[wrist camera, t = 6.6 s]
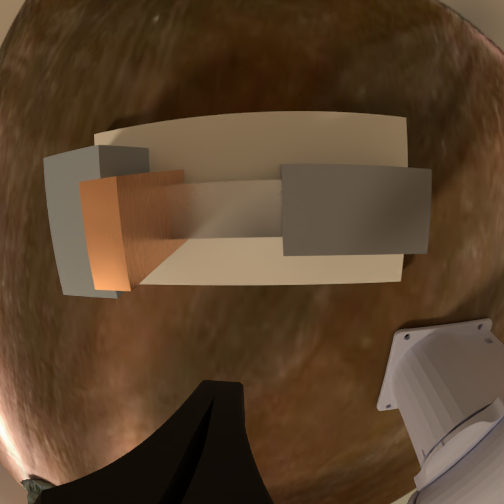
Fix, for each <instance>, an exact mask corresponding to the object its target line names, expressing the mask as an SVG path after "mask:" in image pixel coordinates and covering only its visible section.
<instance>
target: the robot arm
mask: <svg viewBox="0 0 504 504" xmlns="http://www.w3.org/2000/svg"><path fill="white" fill-rule="evenodd" d="M478 326H479V327H478ZM491 327H492V320H491V319H490V318H486V319H480V320H473V321H467V322H460V323H452V324H445V325H437V326H428V327H419V328H410V329H400V330H398V331H396V333H395V334H394V337H393V342H392V347H391V351H390V356H389V360H388V364H387V369H386V373H385V377H384V381H383V385H382V388H381V392H380V396H379V399H378V403H377V409H378V410H379V411H384V410H391V409H397V408H399V410H400V413H401V415H402V418H403V420H404V423H405V426H406V428H407V431H408V433H409V436H410V439H411V441H412V444H413V447H414V449H415V452H416V455H417V458H418V461H419V463H420V466H421V469H422V470H421V471H420V472H419V473H418V474H417V475H416V476H415V477H414V481H415V484H416V487H417V491H416V492H414V493H413V495H412V496H411V497H410V499H409V500H408V503H407V504H504V344H503V343H502V342H501V341H500V340H499V339H498V338H497V337H496V336H495V335H494V334H493V333H492V332H491V331H490V330H491ZM407 334H409V335H408V336H407V337H405V335H407ZM388 404H389V405H388ZM33 504H274V503H273V501H272V499H271V497H270V495H269V493H268V491H267V489H266V487H265V485H264V483H263V481H262V478H261V476H260V474H259V471H258V469H257V466H256V463H255V461H254V458H253V455H252V452H251V449H250V445H249V442H248V438H247V434H246V430H245V410H244V392H243V385H242V384H241V383H240V382H225V381H212V380H203V381H202V382H201V383H200V384H199V385H198V387H197V388H196V389H195V390H194V392H193V393H192V394H191V395H190V396H189V398H188V399H187V400H186V401H185V402H184V403H183V404H182V406H181V407H180V408H179V409H178V410H177V411H176V412H175V413H174V414H173V415H172V416H171V417H170V418H169V419H168V420H167V421H166V422H165V423H164V424H163V425H162V426H161V427H160V428H158V429H157V430H156V431H155V432H154V433H153V434H152V435H151V436H150V437H148V438H147V439H146V440H145V441H143V442H142V443H141V444H140V445H138V446H137V447H135V448H134V449H133V450H131V451H130V452H128V453H127V454H125V455H124V456H122V457H121V458H119V459H117V460H116V461H114V462H113V463H111V464H109V465H107V466H105V467H104V468H102V469H100V470H97V471H95V472H93V473H91V474H89V475H87V476H84V477H82V478H80V479H77V480H75V481H72V482H69V483H66V484H62V485H59V486H56V487H52V488H49V489H45V490H42V491H41V493H40V494H39V495H38V497H37V498H36V500H35V502H34V503H33Z"/></svg>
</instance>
